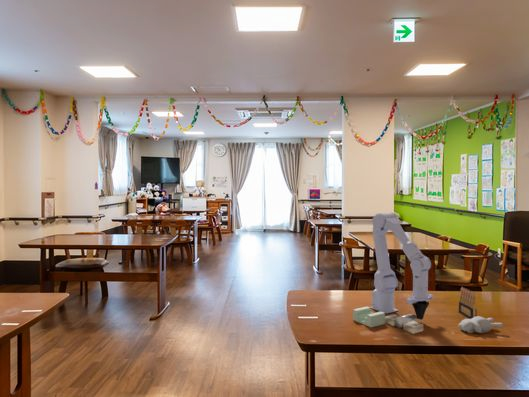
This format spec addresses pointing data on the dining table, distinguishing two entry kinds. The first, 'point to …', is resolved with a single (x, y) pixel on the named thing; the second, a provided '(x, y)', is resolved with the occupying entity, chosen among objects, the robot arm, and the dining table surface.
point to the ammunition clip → (467, 304)
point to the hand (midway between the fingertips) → (419, 318)
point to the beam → (409, 327)
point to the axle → (404, 320)
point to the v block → (368, 317)
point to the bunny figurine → (478, 324)
